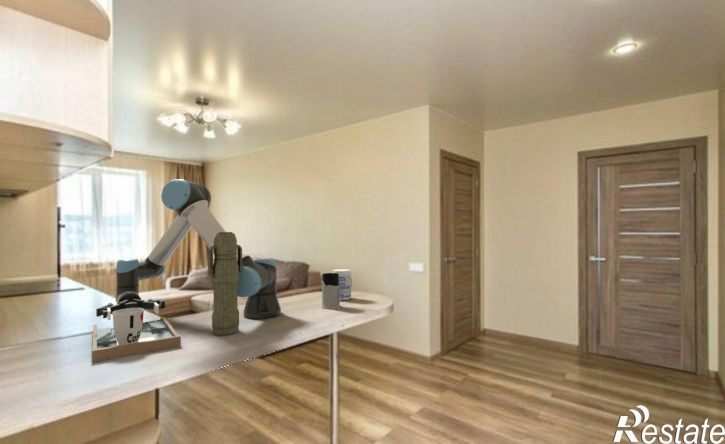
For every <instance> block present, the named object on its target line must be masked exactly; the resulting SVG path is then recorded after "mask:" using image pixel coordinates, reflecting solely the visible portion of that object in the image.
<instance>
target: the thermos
mask: <svg viewBox="0 0 725 444" xmlns="http://www.w3.org/2000/svg"><path fill="white" fill-rule="evenodd" d="M237 248H238V263H237V258H236V254H237ZM213 250H214V254H213ZM242 253H243V248H242V246H241V244H238V240H237V237H236V234H235V232H232V231H226V232H218V234H216V236H215V239H214V245H213V246H212V247H210V248H209V247H208V250H207V275H208V276H209V277H211V283H212V285H213V310H212V314H211V327H212V335H213V336H216V337H226V336H227V337H228V336H233V335H236V334H237V333H239V332H240V329H239V327H240V311H239V308H238V300H239V299H238V296H237V284H238V282H239V275H240V274H241V273H242Z"/></svg>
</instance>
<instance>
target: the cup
mask: <svg viewBox="0 0 725 444" xmlns="http://www.w3.org/2000/svg"><path fill="white" fill-rule="evenodd" d="M144 311H145V309H143V308H127V309H121V310H116V311H114V312H113V314H112V324H113V330H114V331H113V332H114V335H115V336H116V339H117V342H118V345H126V344H132V343H137V342H138V340H139V337H140V334H141V331H143V330H142V329H143V322H144V314H145V313H144Z"/></svg>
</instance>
